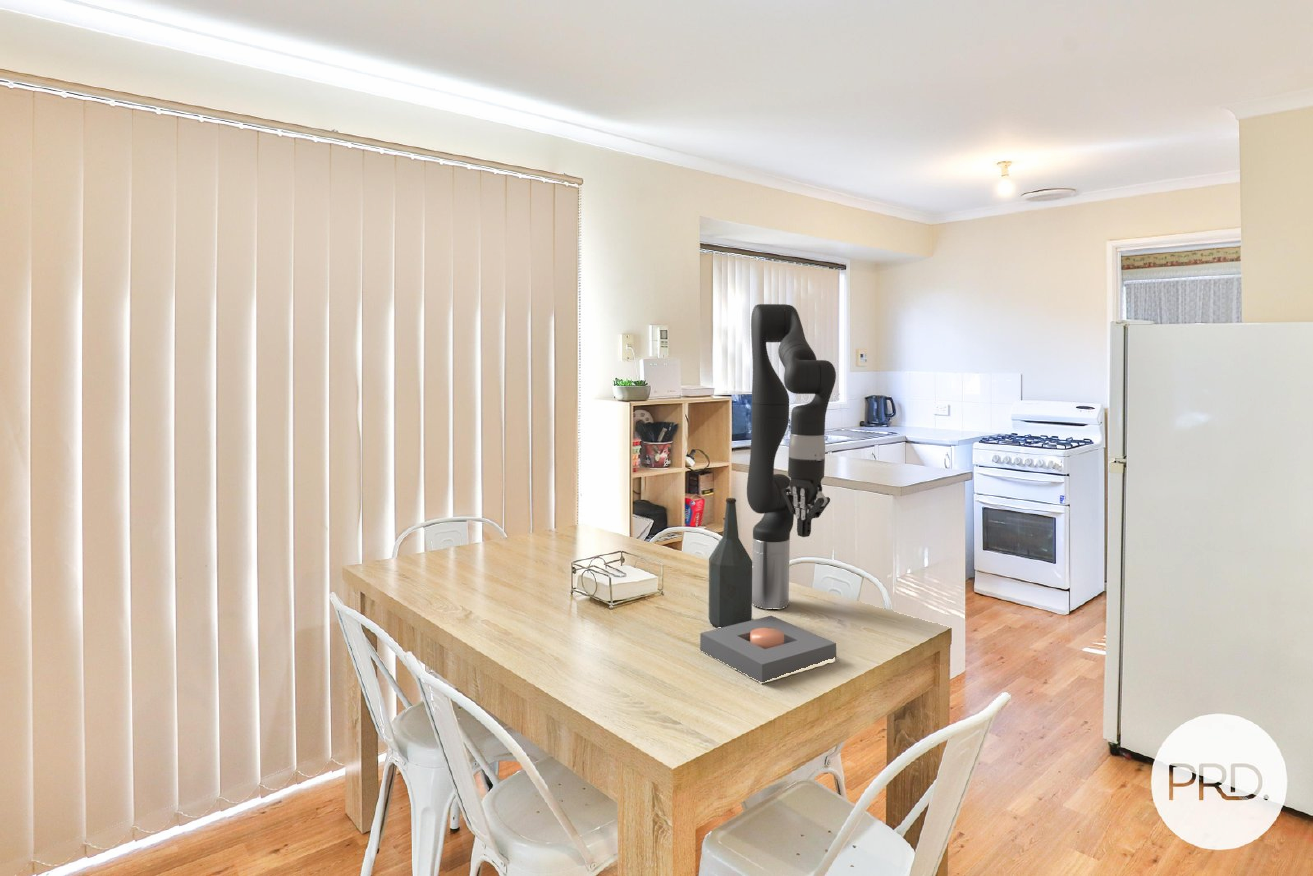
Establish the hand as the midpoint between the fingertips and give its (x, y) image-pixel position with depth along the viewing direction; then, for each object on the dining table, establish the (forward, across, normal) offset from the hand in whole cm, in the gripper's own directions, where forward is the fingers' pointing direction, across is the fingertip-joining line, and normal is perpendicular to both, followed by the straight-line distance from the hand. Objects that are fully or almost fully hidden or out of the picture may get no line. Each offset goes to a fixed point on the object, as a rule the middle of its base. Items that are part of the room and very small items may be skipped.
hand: (803, 536), depth 161 cm
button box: (+25, 0, -9) cm, 26 cm away
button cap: (+24, 0, -9) cm, 26 cm away
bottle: (+25, -20, -4) cm, 33 cm away
